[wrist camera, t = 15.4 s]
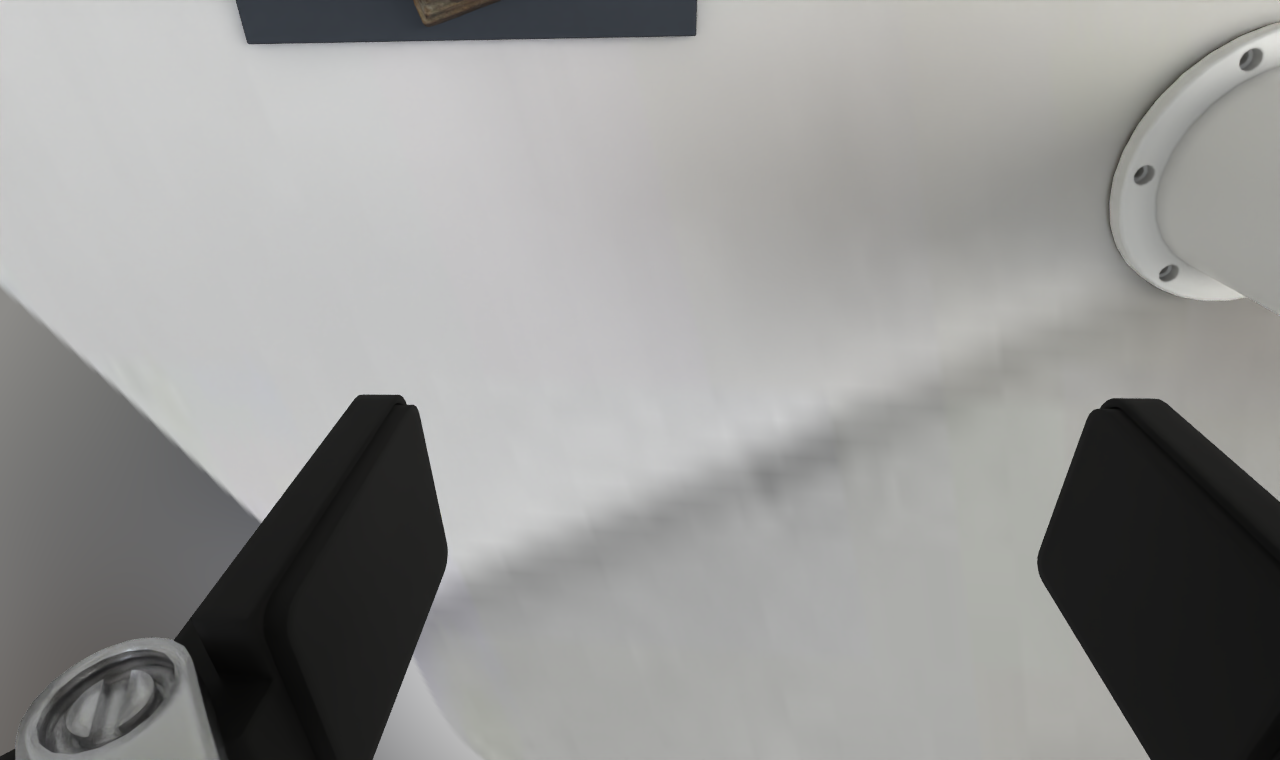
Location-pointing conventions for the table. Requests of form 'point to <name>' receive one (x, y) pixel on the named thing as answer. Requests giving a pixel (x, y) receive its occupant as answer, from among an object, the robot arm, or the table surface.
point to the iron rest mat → (462, 20)
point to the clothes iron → (446, 9)
